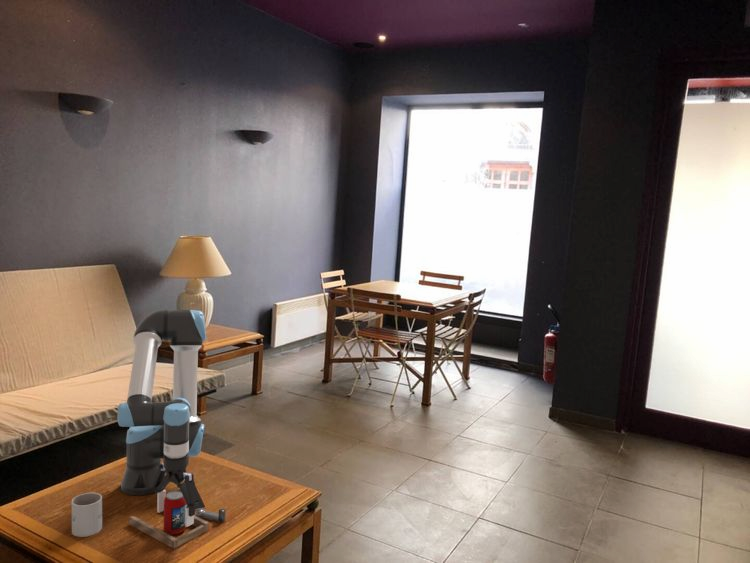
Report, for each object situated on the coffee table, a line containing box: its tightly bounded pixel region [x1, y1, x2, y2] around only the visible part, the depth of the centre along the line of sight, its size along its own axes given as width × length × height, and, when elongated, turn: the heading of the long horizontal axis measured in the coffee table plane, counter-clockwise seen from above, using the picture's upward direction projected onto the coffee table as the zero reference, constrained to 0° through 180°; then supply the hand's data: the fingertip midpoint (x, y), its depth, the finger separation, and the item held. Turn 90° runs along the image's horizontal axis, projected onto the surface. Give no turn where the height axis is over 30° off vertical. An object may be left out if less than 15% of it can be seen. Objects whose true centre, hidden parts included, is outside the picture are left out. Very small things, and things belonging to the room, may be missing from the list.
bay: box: [129, 514, 210, 549], centre depth 188 cm, size 22×13×2 cm, turn 57°
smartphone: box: [175, 486, 207, 512], centre depth 206 cm, size 8×17×1 cm, turn 29°
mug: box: [71, 492, 103, 538], centre depth 185 cm, size 12×9×10 cm
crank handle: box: [195, 508, 227, 523], centre depth 194 cm, size 11×3×4 cm, turn 72°
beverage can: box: [163, 490, 187, 535], centre depth 185 cm, size 7×7×12 cm
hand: (175, 517), depth 186 cm, fingers open, 13 cm apart
